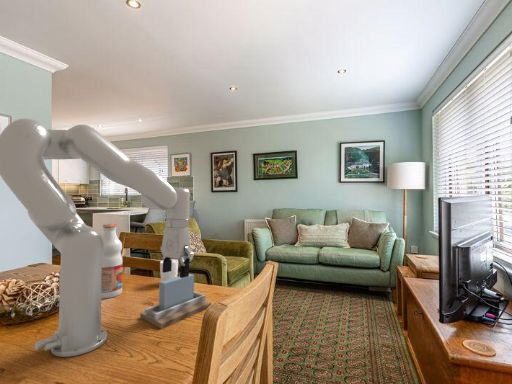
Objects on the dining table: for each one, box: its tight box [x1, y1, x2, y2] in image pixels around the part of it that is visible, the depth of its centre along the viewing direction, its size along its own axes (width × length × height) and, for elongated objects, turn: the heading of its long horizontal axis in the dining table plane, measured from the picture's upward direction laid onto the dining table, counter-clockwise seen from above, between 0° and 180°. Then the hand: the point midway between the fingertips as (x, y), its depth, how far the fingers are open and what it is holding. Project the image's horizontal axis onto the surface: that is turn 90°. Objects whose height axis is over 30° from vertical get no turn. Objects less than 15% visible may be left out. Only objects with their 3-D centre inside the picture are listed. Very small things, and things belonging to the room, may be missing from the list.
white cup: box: [159, 258, 179, 282], centre depth 122 cm, size 8×8×10 cm
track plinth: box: [139, 291, 212, 330], centre depth 92 cm, size 20×12×4 cm, turn 142°
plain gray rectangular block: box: [158, 273, 195, 312], centre depth 92 cm, size 12×3×10 cm, turn 143°
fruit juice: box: [101, 223, 123, 299], centre depth 108 cm, size 9×9×28 cm
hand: (175, 274), depth 92 cm, fingers open, 9 cm apart
